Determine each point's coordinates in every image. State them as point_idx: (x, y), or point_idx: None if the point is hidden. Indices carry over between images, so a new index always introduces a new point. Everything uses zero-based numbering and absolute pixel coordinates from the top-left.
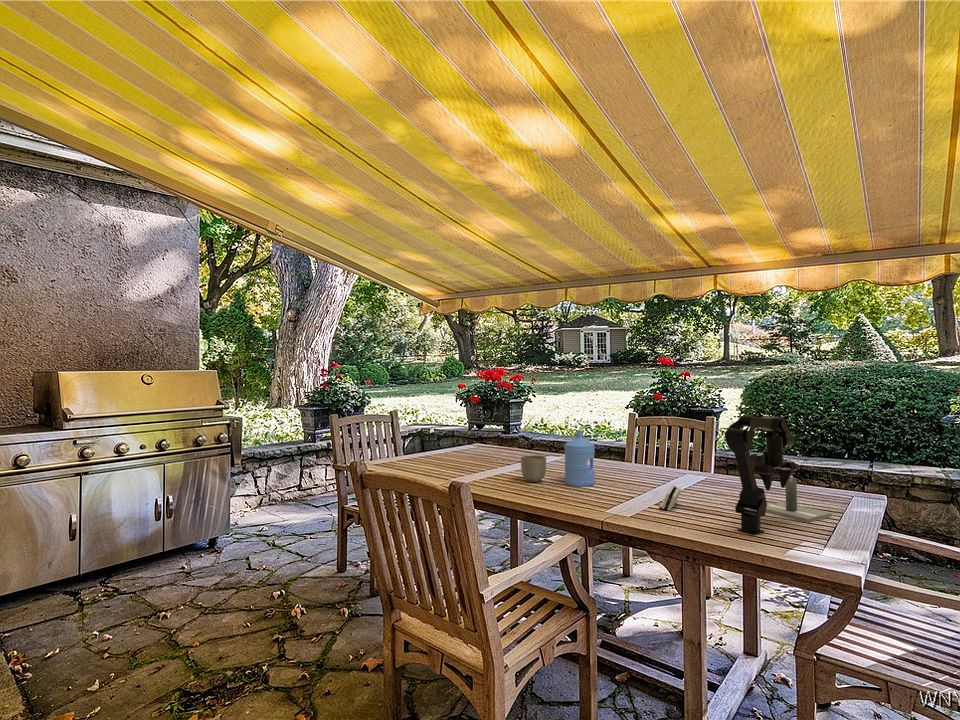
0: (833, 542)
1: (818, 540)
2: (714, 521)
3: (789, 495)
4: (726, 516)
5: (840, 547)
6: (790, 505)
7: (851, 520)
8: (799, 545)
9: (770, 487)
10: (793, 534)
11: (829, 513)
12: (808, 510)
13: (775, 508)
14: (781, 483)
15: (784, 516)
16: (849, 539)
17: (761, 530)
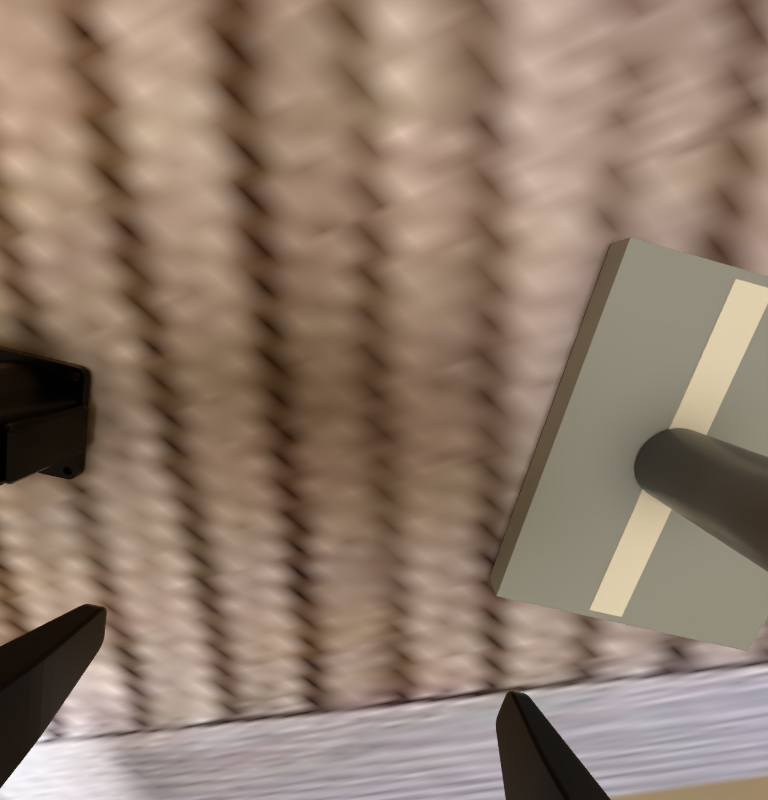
0: (210, 743)
1: (184, 697)
2: (23, 106)
3: (756, 533)
4: (242, 114)
5: (158, 776)
6: (668, 489)
7: (705, 712)
8: None
9: (44, 727)
10: (185, 593)
11: (731, 647)
12: None
13: (661, 358)
14: (537, 778)
15: (538, 446)
16: (318, 774)
17: (61, 466)
